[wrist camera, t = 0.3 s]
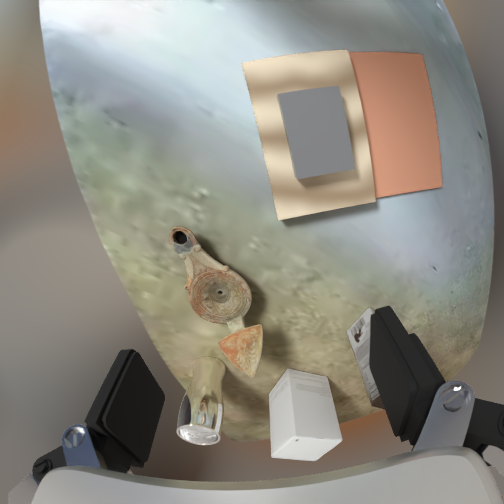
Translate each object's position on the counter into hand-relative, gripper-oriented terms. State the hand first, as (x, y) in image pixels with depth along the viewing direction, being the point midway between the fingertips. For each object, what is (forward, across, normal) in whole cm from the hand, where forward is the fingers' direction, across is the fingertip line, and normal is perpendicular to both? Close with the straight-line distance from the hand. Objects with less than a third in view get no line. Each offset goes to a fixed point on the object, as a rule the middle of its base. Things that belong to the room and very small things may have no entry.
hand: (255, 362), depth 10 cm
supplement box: (+29, 0, +37) cm, 47 cm away
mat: (+28, -22, -7) cm, 36 cm away
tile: (+25, -9, -7) cm, 27 cm away
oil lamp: (+29, +8, +11) cm, 32 cm away
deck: (+28, -9, -7) cm, 30 cm away
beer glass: (+29, +15, +28) cm, 43 cm away
